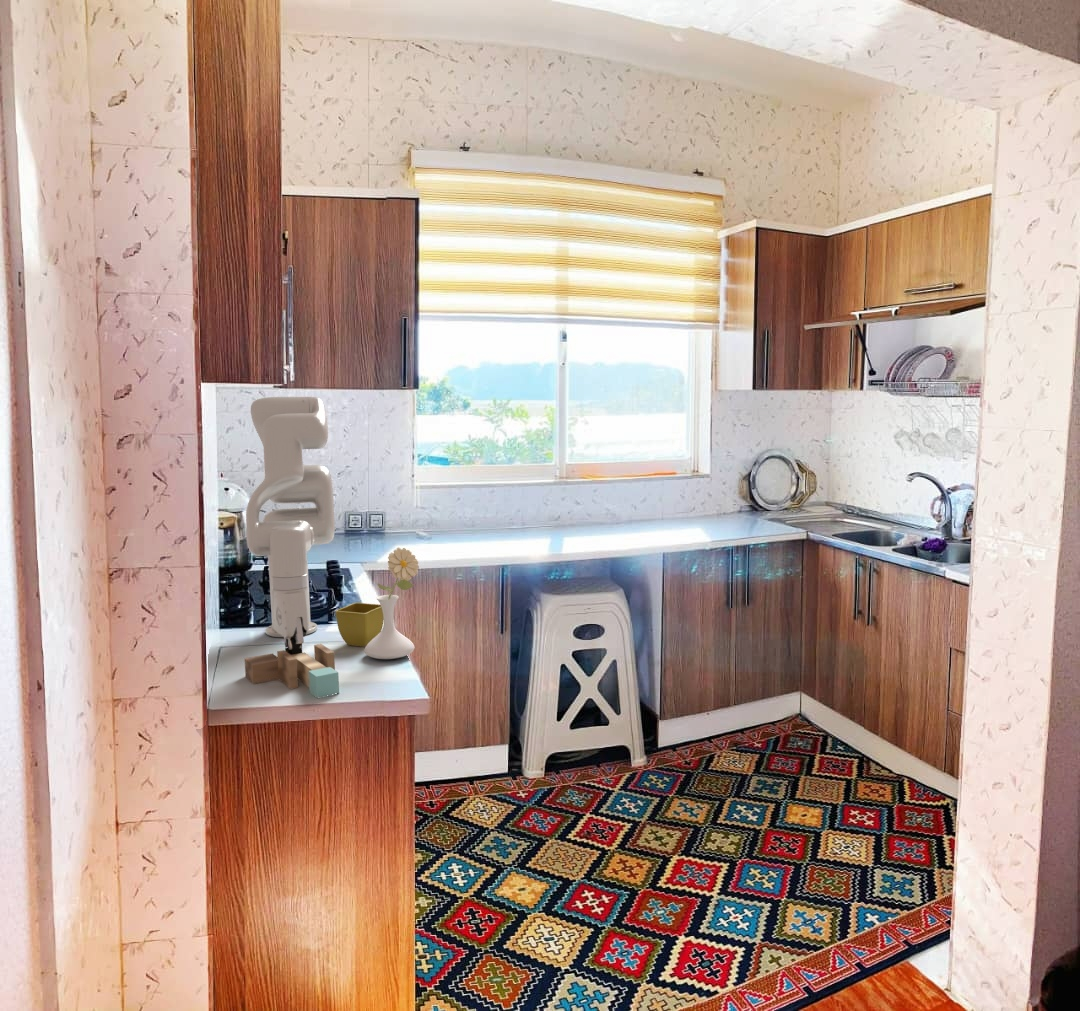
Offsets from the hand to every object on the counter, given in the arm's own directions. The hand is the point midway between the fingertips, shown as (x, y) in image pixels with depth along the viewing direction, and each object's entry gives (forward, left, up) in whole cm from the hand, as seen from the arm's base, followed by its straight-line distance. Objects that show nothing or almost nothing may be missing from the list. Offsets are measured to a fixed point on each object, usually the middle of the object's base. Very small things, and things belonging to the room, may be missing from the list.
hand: (294, 665), depth 187 cm
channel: (+8, 0, -1) cm, 8 cm away
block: (+19, 0, -1) cm, 19 cm away
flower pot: (-11, +20, -1) cm, 23 cm away
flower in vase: (+3, +22, -1) cm, 22 cm away
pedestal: (+1, -7, -1) cm, 7 cm away
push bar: (+9, 0, -1) cm, 9 cm away
